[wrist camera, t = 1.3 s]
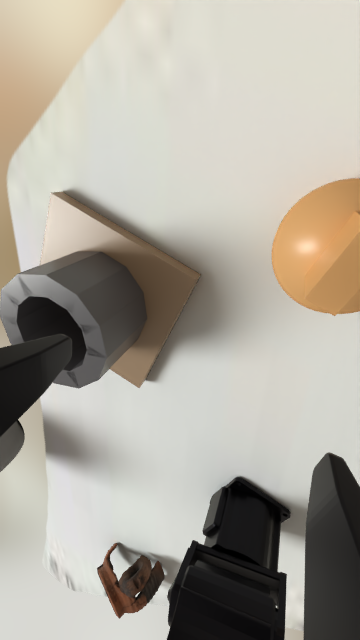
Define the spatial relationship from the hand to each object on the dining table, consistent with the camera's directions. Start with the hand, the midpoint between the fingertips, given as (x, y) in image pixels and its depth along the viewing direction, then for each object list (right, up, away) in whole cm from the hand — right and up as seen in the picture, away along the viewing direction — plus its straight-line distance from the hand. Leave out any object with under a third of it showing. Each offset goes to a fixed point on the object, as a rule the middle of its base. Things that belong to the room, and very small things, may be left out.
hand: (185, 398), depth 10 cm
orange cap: (+9, +7, +8) cm, 15 cm away
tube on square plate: (-7, +5, +17) cm, 19 cm away
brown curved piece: (-7, -36, +39) cm, 54 cm away
